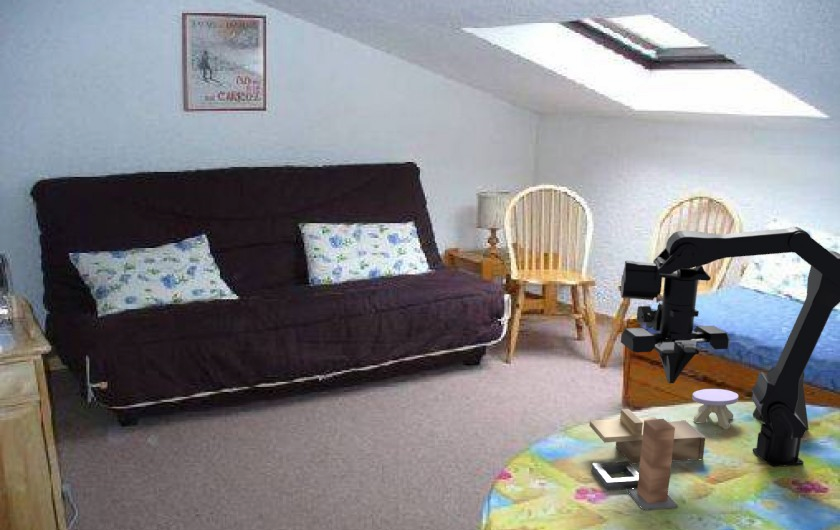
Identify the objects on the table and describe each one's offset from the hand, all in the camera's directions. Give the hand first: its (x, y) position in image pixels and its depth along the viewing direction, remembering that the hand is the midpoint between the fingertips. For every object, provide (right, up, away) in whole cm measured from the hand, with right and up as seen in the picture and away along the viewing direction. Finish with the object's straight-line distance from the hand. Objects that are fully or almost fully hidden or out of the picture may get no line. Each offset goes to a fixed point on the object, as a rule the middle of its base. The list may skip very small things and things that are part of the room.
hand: (670, 382), depth 145 cm
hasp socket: (-12, -15, -9) cm, 22 cm away
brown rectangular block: (-8, -16, -16) cm, 24 cm away
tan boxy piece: (-2, -13, +1) cm, 13 cm away
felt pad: (-8, -17, -16) cm, 24 cm away
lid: (-8, -9, -1) cm, 12 cm away
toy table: (+14, -10, +16) cm, 23 cm away
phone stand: (+27, -11, +15) cm, 33 cm away
